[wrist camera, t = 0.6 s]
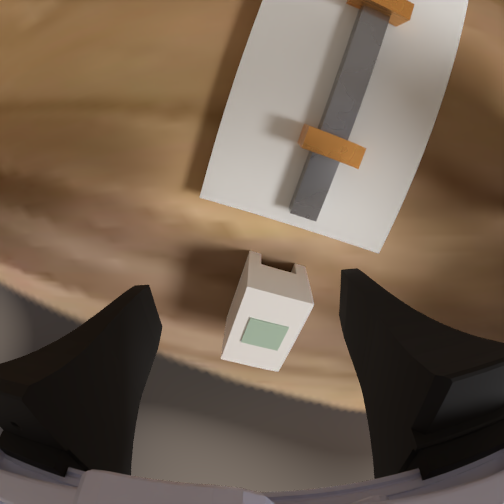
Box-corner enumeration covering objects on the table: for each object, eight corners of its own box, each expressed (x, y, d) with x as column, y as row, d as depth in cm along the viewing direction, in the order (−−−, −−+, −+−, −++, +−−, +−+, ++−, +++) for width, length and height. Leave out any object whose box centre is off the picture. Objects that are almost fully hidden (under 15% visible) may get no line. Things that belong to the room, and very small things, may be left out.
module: (305, 266, 22) (314, 305, 18) (276, 329, 25) (278, 372, 20) (249, 250, 22) (247, 287, 17) (226, 317, 24) (220, 359, 20)
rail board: (460, -2, 12) (469, -5, 11) (373, 245, 21) (378, 253, 20) (297, -78, 11) (299, -87, 10) (202, 192, 20) (199, 197, 19)
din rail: (412, -31, 11) (425, -40, 9) (325, 219, 19) (331, 232, 17) (365, -54, 11) (375, -66, 9) (275, 203, 19) (277, 215, 17)
